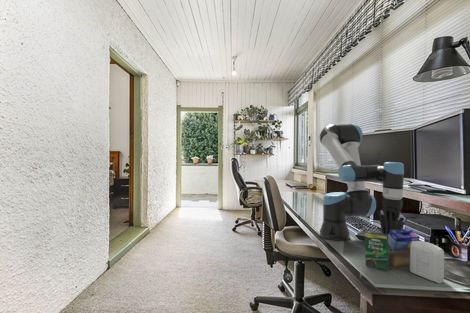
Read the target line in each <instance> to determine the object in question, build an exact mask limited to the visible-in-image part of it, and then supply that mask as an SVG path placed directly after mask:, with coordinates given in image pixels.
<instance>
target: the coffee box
mask: <svg viewBox="0 0 470 313" xmlns="http://www.w3.org/2000/svg"><path fill="white" fill-rule="evenodd" d="M364 252H365V253H364V257H365V258H364V260H365V266H367V267H371V268H375V269H379V270H383V271H389V268H390V267H389V256H388V235H387V234H383V233H378V232H371V231H365V232H364Z"/></svg>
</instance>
